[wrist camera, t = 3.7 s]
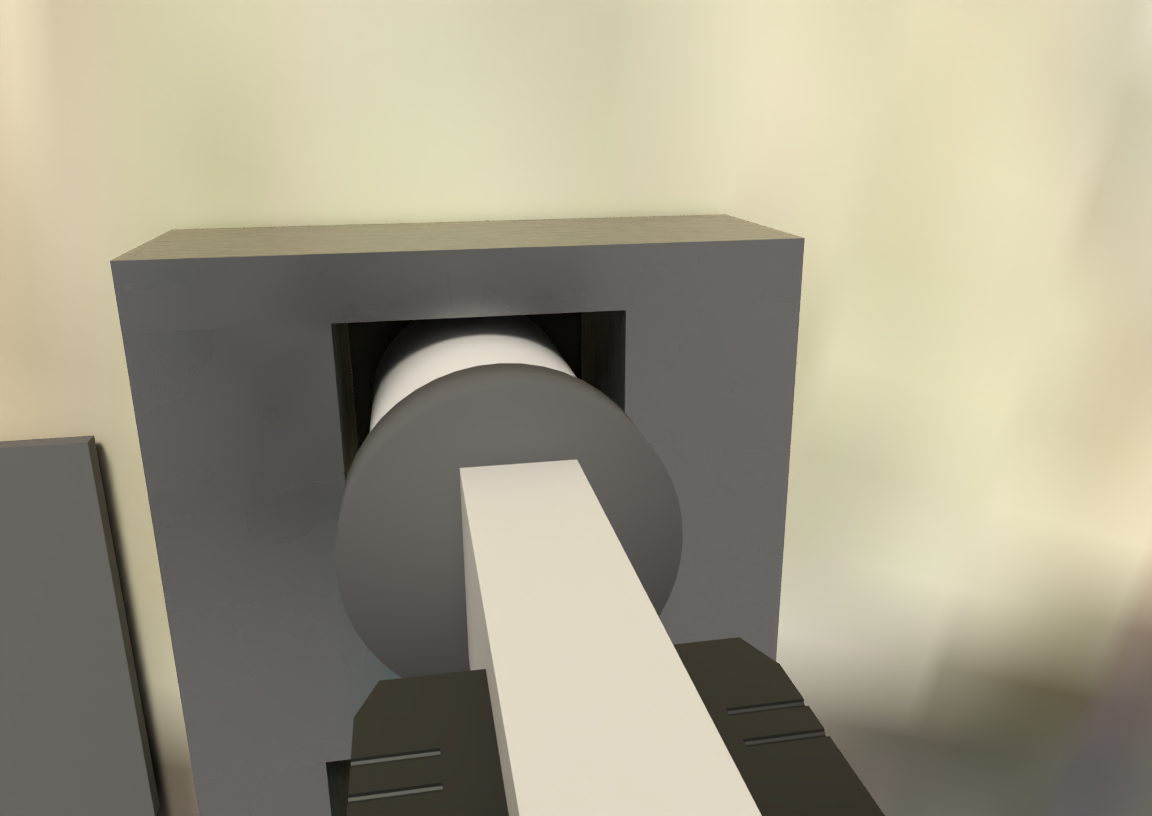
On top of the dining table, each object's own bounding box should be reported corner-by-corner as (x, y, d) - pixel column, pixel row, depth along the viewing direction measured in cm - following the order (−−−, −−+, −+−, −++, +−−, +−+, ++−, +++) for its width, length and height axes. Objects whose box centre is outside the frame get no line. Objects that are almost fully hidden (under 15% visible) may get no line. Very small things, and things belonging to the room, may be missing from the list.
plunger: (366, 509, 19) (350, 724, 12) (348, 291, 18) (318, 398, 11) (583, 492, 20) (678, 684, 13) (581, 282, 19) (688, 376, 12)
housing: (698, 862, 24) (753, 997, 21) (269, 928, 23) (244, 1089, 19) (725, 214, 19) (804, 238, 16) (171, 229, 17) (110, 260, 14)
